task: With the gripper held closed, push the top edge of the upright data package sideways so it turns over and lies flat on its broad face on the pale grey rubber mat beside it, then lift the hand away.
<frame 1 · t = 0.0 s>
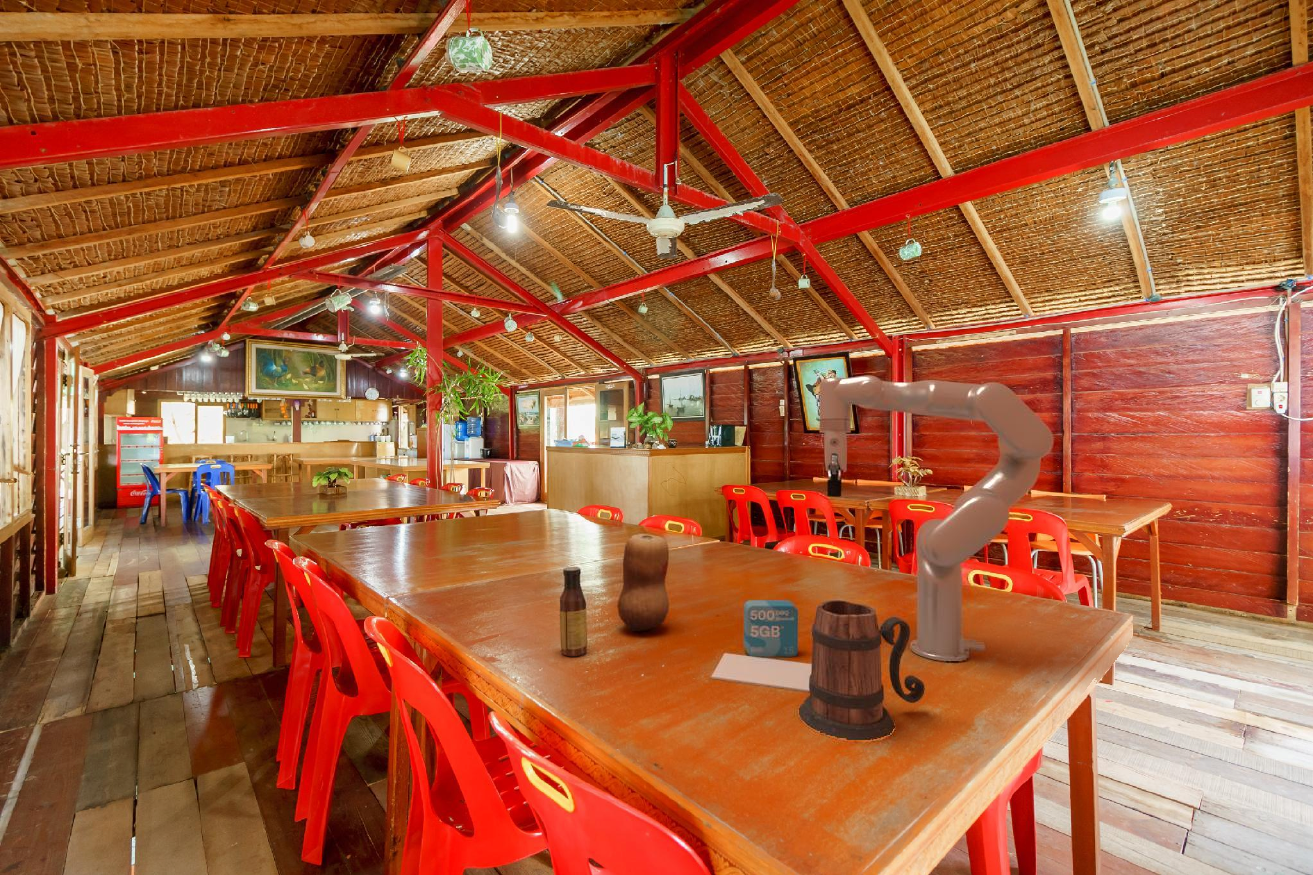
hand: (834, 494, 143), 37 cm above the table, tool pointing down, fingers open, 9 cm apart
data package: (770, 654, 134), on the table
tankard: (862, 717, 104), on the table
butternut squash: (643, 630, 151), on the table
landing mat: (763, 672, 123), on the table
sauce bottle: (573, 653, 134), on the table
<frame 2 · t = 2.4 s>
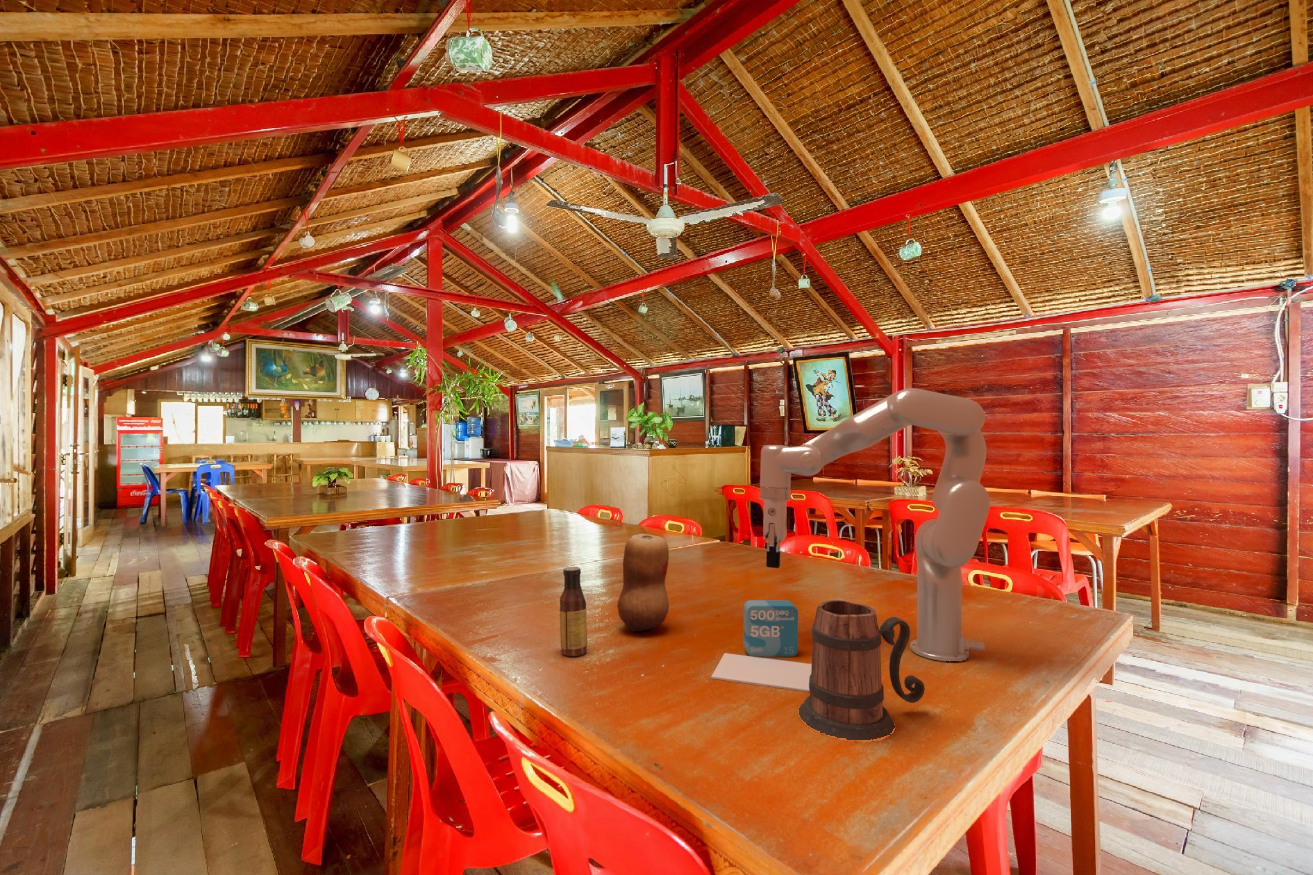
hand: (773, 566, 143), 19 cm above the table, tool pointing down, fingers closed
nothing on the table moved.
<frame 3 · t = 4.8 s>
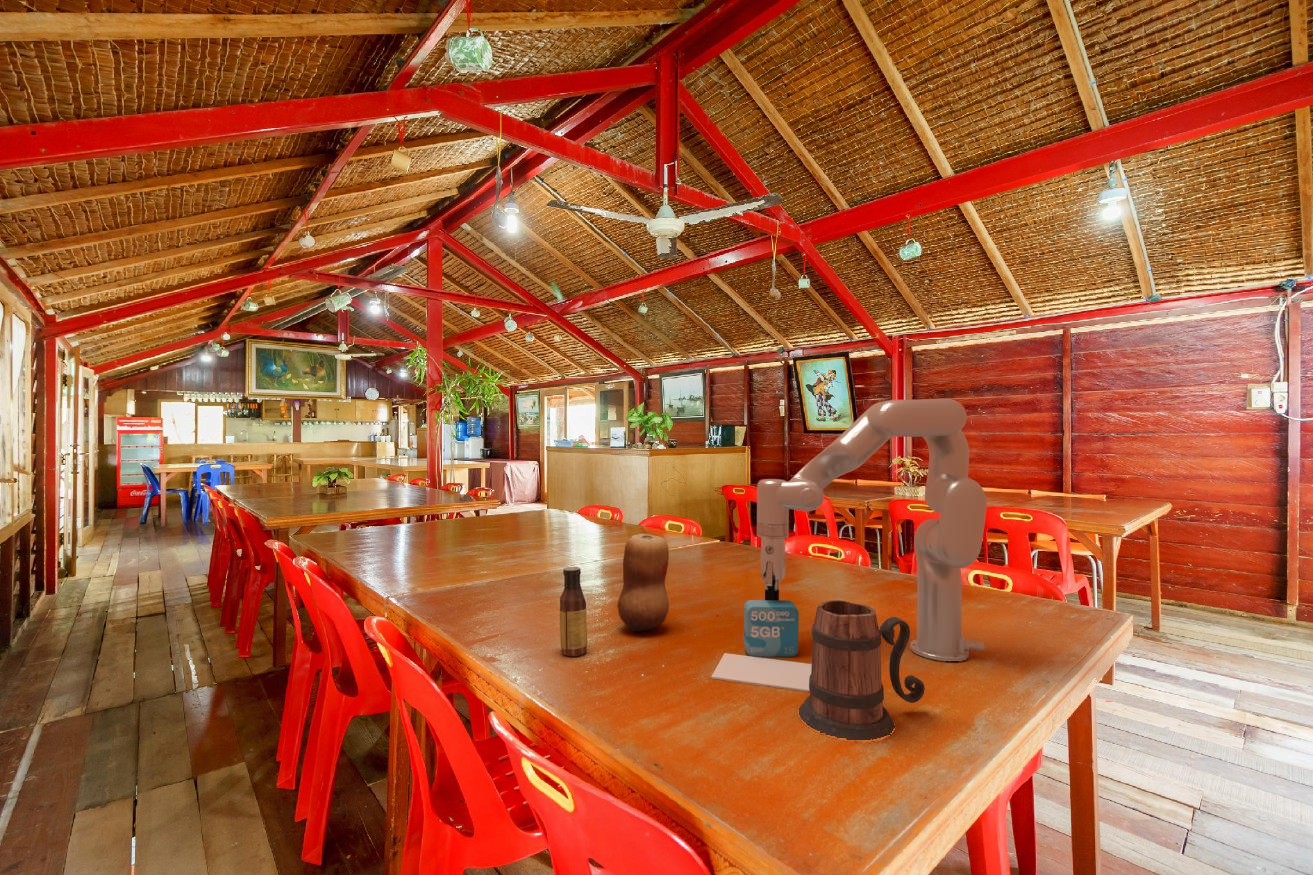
hand: (771, 605, 138), 10 cm above the table, tool pointing down, fingers closed
data package: (770, 653, 134), on the table, touching gripper
everything else where it was.
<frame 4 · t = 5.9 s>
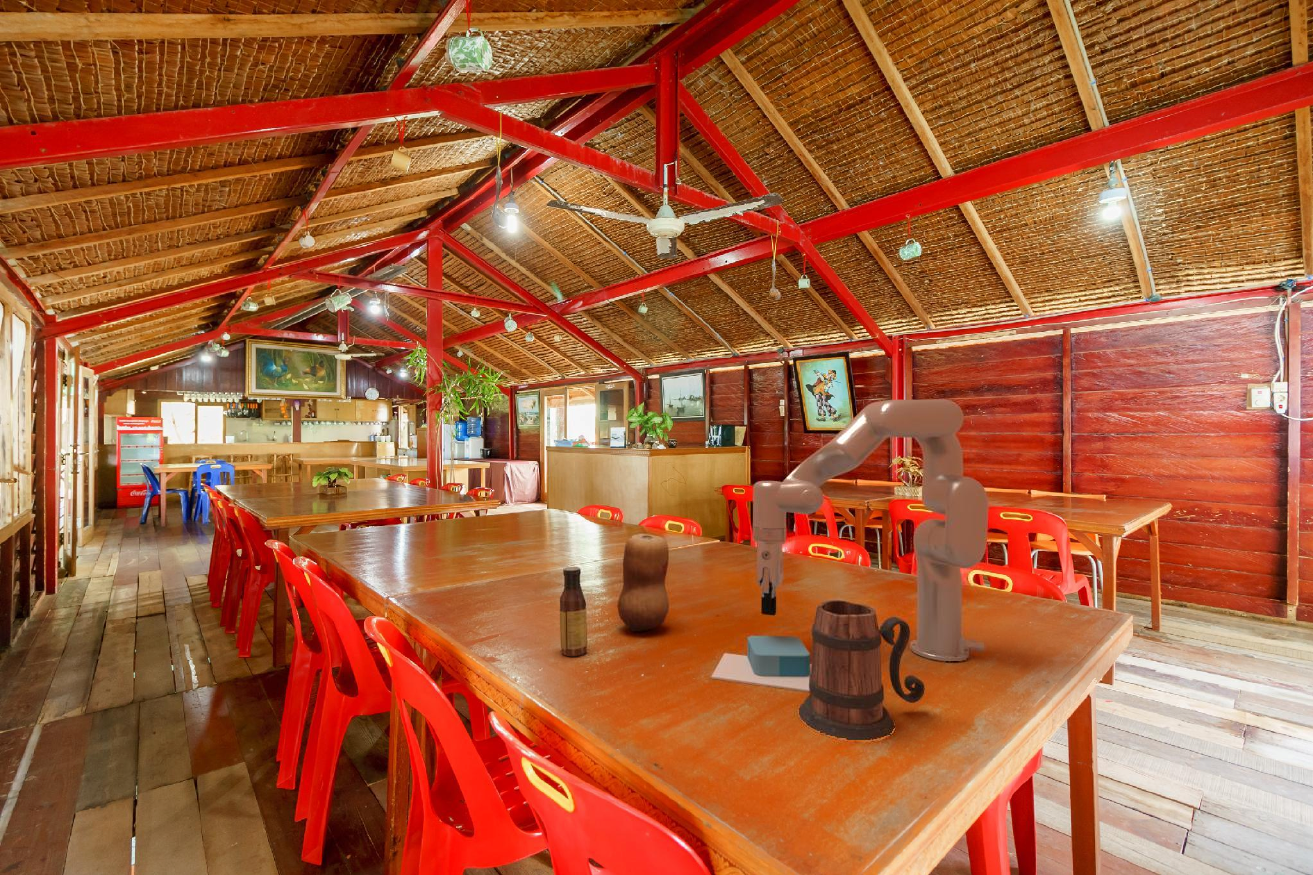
hand: (768, 613, 132), 10 cm above the table, tool pointing down, fingers closed
data package: (772, 645, 132), point 3 cm above the table, touching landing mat
everything else where it was.
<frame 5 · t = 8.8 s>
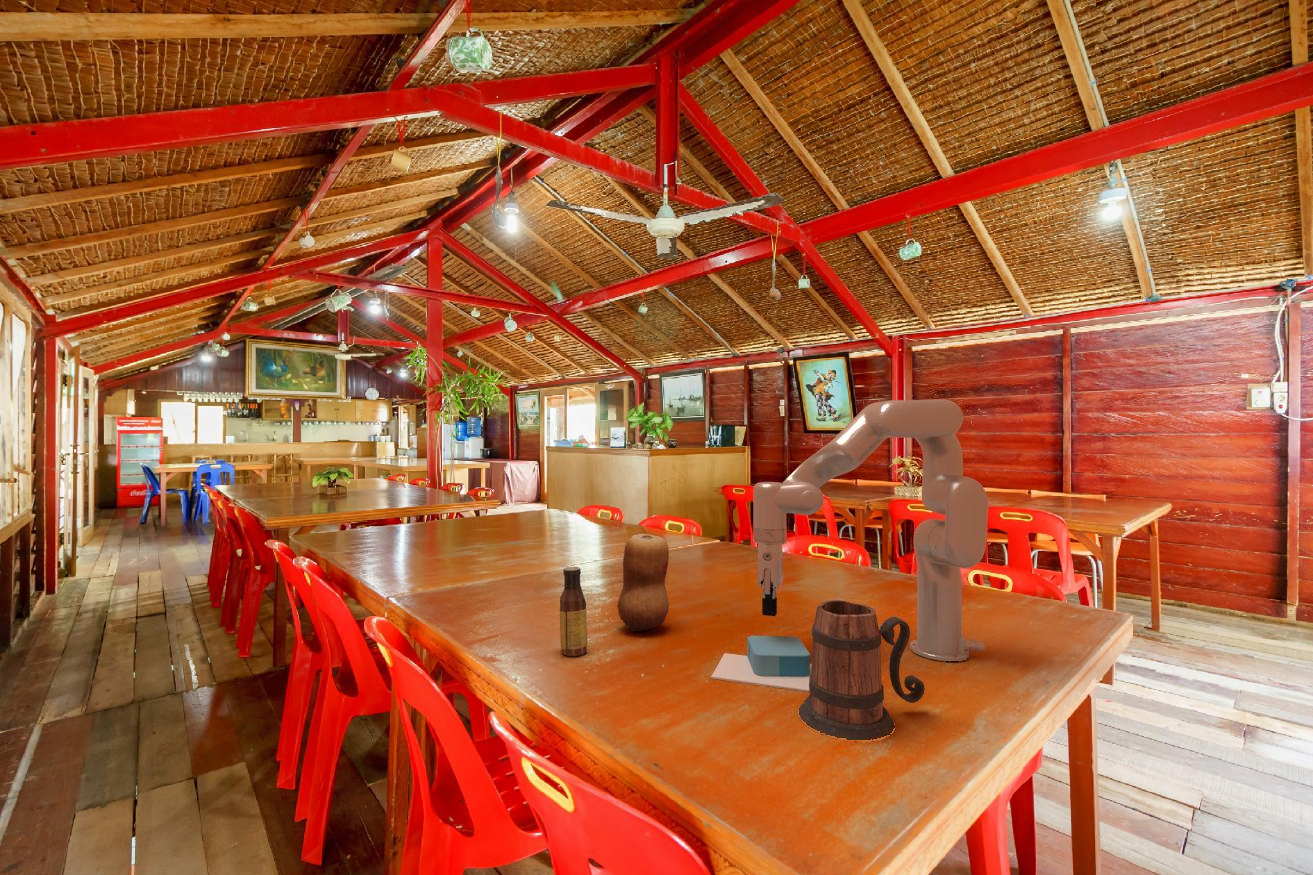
hand: (769, 614, 132), 10 cm above the table, tool pointing down, fingers closed
nothing on the table moved.
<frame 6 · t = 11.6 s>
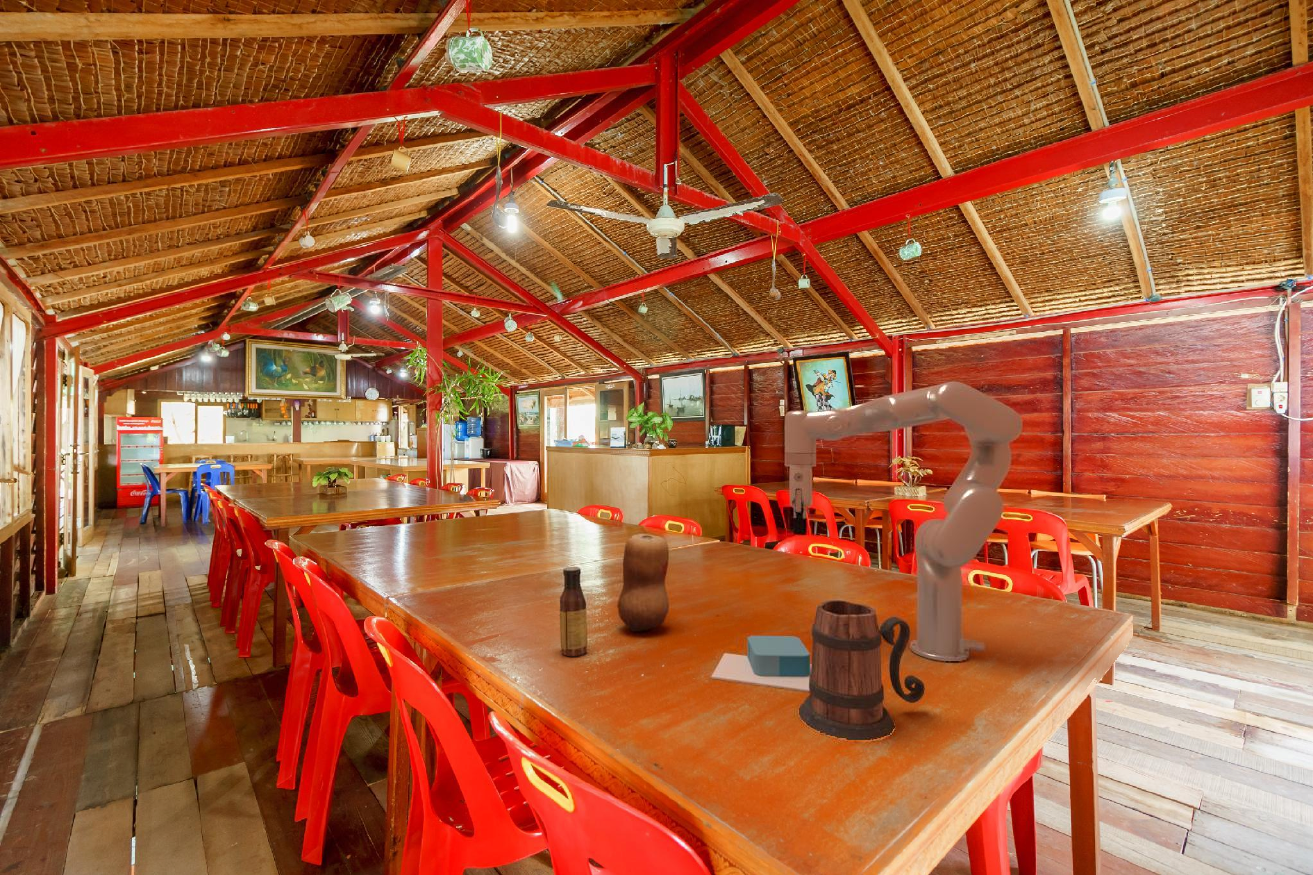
hand: (799, 534, 141), 27 cm above the table, tool pointing down, fingers closed
nothing on the table moved.
at the end: data package tilted 90°; data package inside the target area (2.8 cm from its centre), point 2.7 cm above the table; data package touching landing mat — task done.
